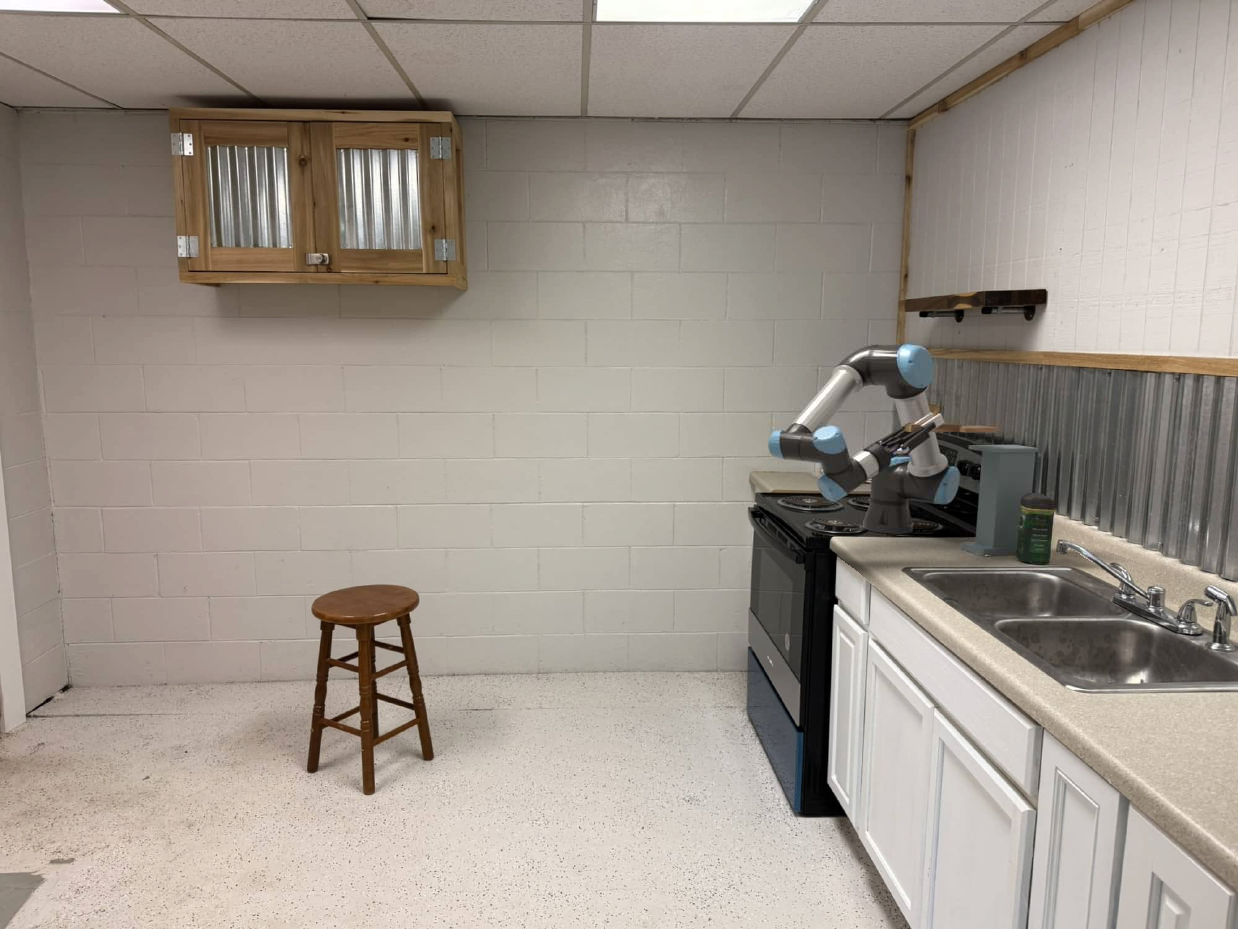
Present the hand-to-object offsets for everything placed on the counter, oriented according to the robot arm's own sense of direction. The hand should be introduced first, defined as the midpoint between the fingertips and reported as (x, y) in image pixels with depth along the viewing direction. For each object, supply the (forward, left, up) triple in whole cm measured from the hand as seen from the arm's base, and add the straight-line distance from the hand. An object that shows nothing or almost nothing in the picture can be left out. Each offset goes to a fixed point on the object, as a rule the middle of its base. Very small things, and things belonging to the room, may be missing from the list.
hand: (937, 417), depth 232 cm
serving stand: (0, +23, -38) cm, 45 cm away
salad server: (0, +4, -4) cm, 6 cm away
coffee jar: (+12, +25, -38) cm, 47 cm away
